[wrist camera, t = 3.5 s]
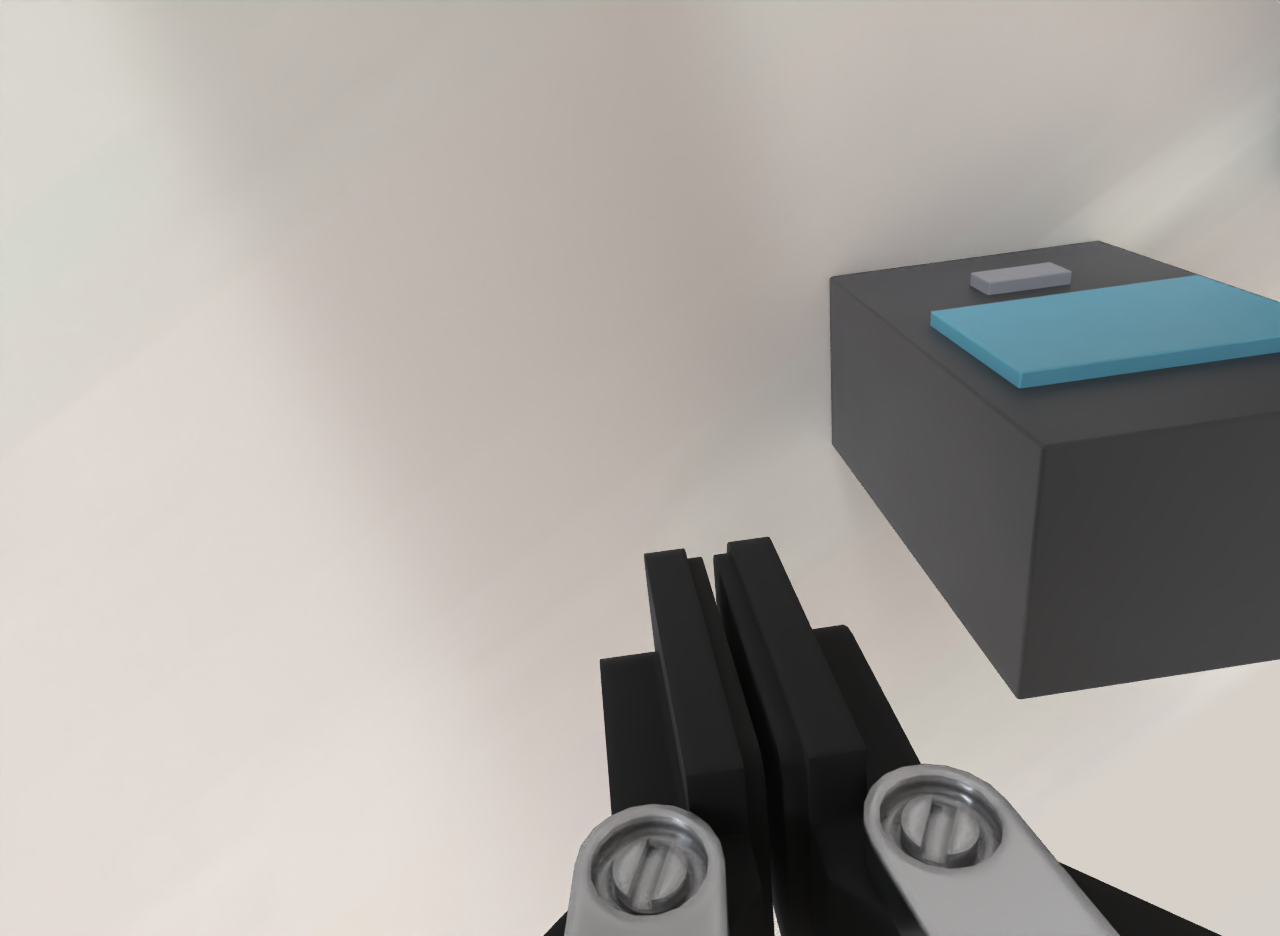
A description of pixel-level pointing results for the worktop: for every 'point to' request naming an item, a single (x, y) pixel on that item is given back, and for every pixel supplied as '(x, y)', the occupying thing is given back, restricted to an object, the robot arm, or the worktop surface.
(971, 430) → the dark grey box
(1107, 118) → the worktop surface
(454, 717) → the worktop surface
